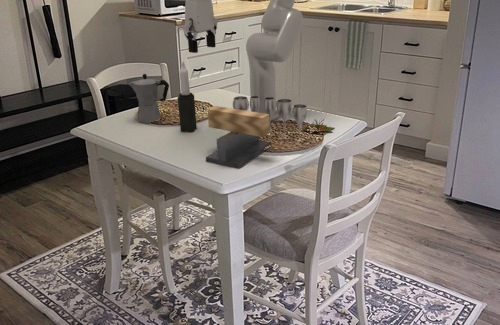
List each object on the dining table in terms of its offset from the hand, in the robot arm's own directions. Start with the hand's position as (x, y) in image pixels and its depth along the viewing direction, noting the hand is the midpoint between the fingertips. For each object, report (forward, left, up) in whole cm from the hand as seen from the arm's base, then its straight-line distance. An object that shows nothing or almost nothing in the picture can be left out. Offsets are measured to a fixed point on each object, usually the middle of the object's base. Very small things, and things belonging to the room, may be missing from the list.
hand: (202, 49), depth 163 cm
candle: (-3, -11, -31) cm, 33 cm away
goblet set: (-11, +18, -31) cm, 37 cm away
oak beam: (+8, +18, -22) cm, 30 cm away
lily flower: (-23, +31, -31) cm, 50 cm away
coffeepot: (-6, -31, -31) cm, 44 cm away
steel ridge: (+8, +18, -30) cm, 36 cm away
